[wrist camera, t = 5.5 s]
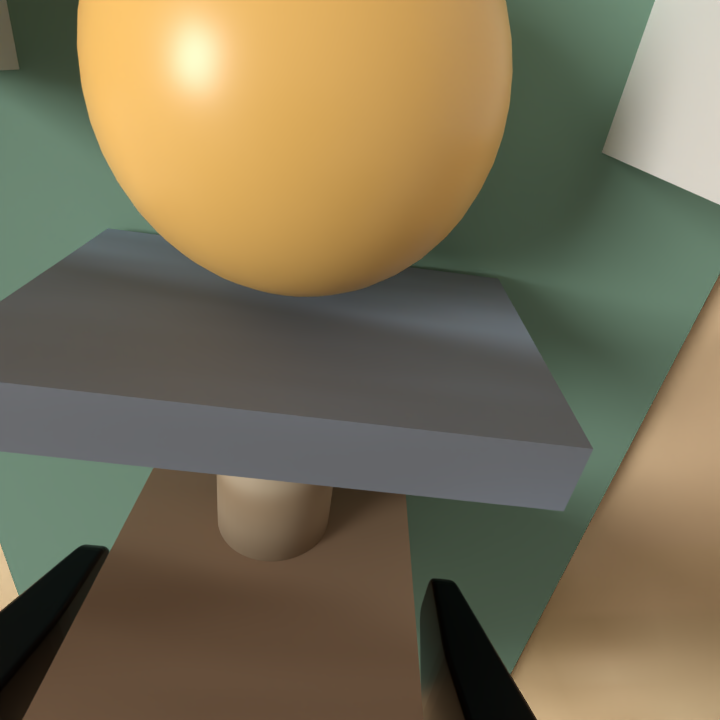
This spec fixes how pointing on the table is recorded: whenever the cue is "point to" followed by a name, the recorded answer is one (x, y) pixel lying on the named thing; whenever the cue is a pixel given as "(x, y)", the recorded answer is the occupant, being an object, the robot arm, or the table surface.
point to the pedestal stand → (269, 472)
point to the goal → (640, 96)
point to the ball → (298, 128)
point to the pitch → (453, 254)
